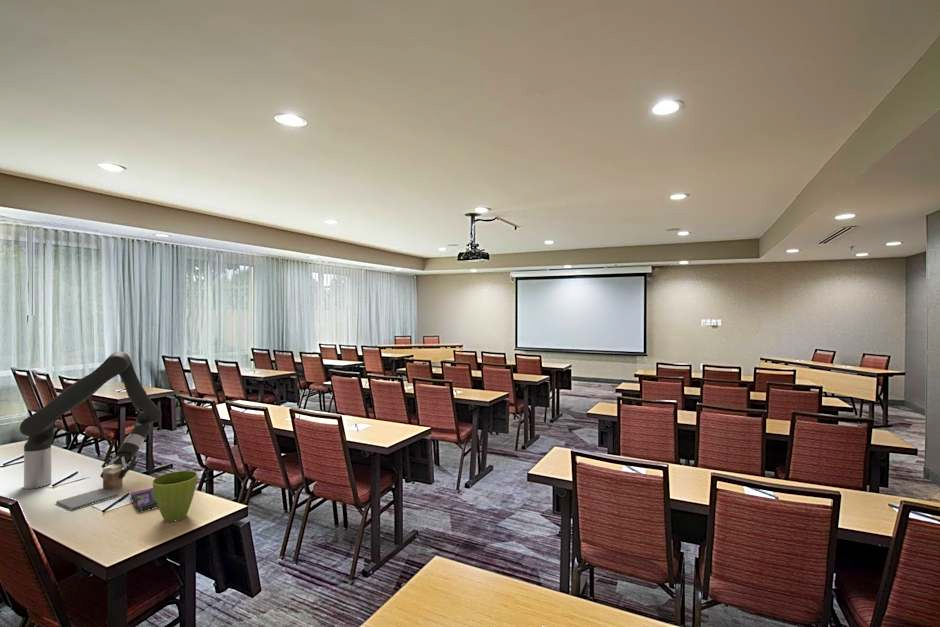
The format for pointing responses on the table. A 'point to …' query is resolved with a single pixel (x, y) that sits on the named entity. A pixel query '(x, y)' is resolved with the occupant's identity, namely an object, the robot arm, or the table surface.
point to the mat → (86, 499)
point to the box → (144, 499)
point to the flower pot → (174, 493)
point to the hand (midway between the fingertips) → (111, 477)
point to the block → (112, 477)
